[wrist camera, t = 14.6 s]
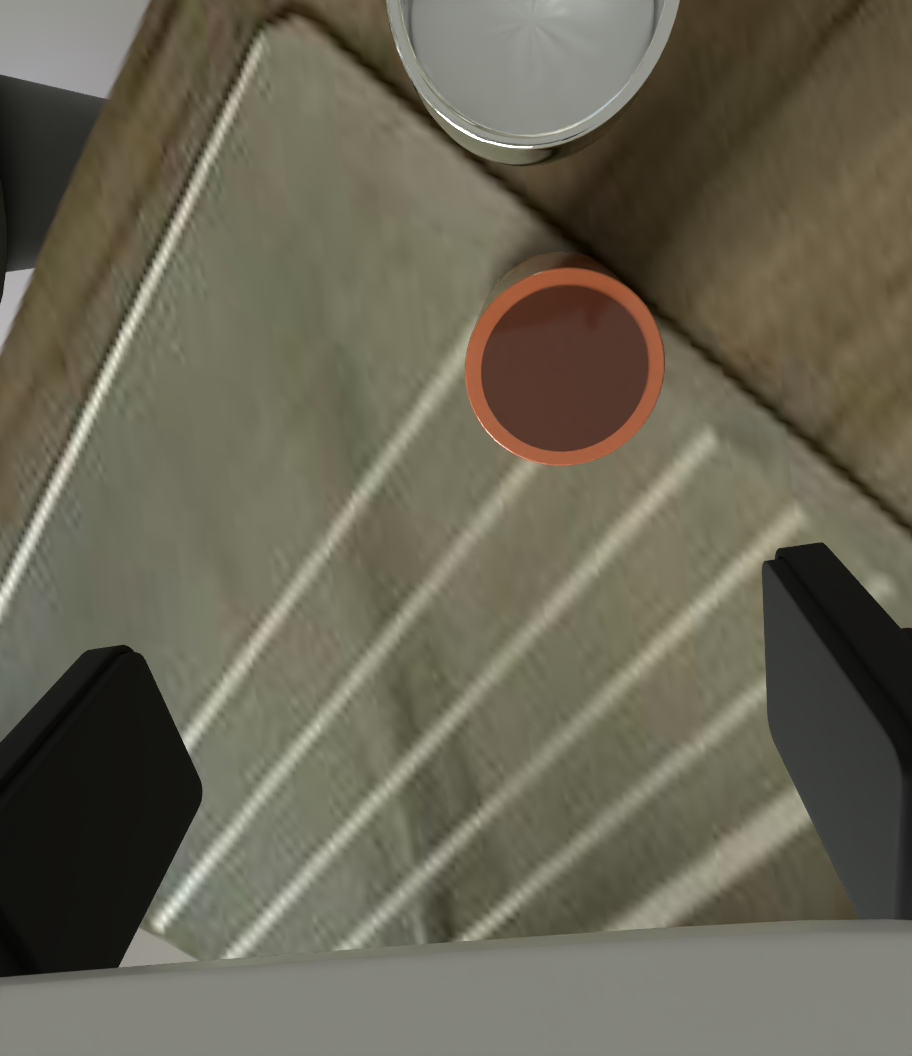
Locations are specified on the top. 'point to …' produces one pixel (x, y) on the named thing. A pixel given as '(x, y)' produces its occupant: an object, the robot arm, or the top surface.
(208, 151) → the top surface
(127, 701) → the robot arm
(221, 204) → the top surface
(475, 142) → the beer glass
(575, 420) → the terracotta cup
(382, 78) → the top surface
